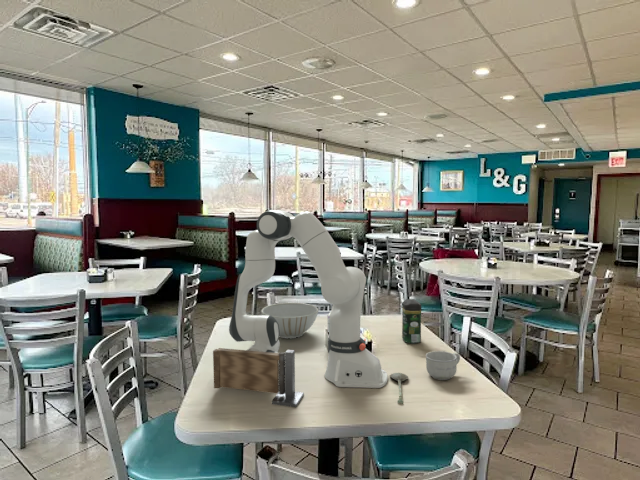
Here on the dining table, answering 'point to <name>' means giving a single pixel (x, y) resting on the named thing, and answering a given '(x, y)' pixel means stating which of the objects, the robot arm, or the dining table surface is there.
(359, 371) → the robot arm
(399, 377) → the soupspoon
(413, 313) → the coffee jar
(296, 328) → the decorative bowl
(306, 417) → the dining table surface
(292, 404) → the gate post
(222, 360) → the gate
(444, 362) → the teacup
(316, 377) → the dining table surface
